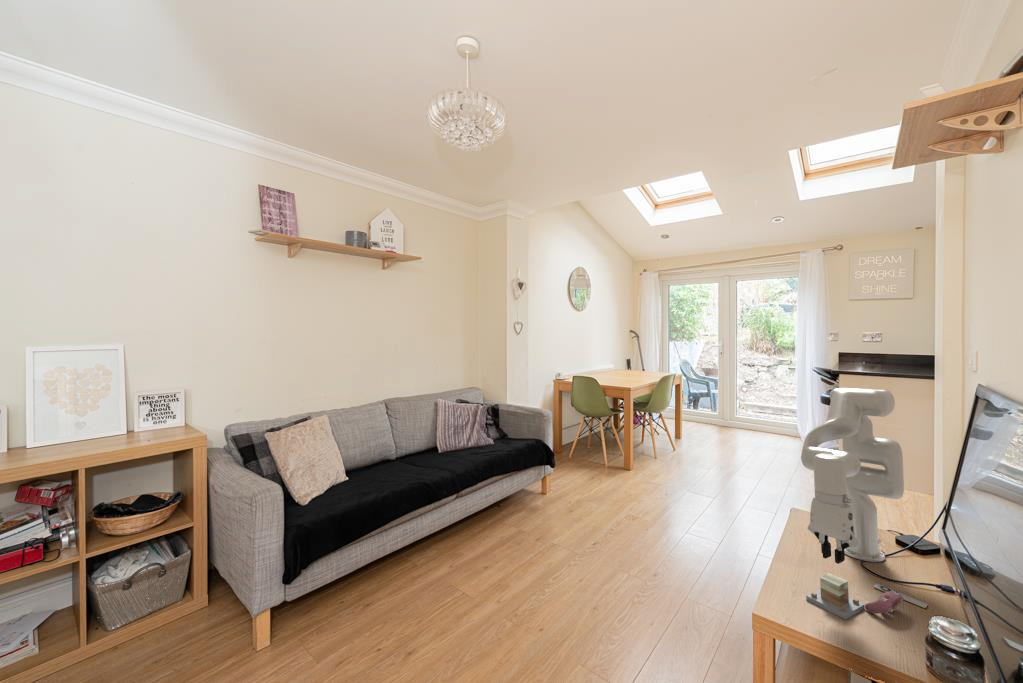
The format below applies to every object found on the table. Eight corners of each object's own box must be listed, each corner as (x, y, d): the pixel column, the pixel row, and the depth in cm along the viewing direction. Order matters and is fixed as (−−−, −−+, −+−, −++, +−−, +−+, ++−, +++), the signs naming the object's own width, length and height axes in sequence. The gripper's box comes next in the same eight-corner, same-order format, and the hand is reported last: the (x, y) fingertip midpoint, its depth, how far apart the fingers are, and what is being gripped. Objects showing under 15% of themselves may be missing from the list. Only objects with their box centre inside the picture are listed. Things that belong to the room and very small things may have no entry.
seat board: (825, 590, 125) (825, 582, 125) (864, 608, 116) (864, 600, 116) (806, 599, 120) (806, 592, 120) (845, 619, 111) (845, 611, 111)
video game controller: (879, 623, 112) (893, 607, 109) (861, 607, 115) (874, 592, 113) (897, 613, 116) (911, 597, 113) (879, 598, 119) (892, 582, 117)
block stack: (829, 593, 121) (829, 573, 121) (848, 601, 117) (847, 581, 117) (820, 597, 119) (820, 577, 119) (839, 607, 115) (838, 585, 115)
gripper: (871, 504, 113) (873, 569, 113) (808, 486, 127) (810, 544, 127) (856, 509, 110) (859, 577, 109) (793, 490, 124) (796, 550, 124)
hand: (833, 559), depth 118 cm, fingers open, 2 cm apart
